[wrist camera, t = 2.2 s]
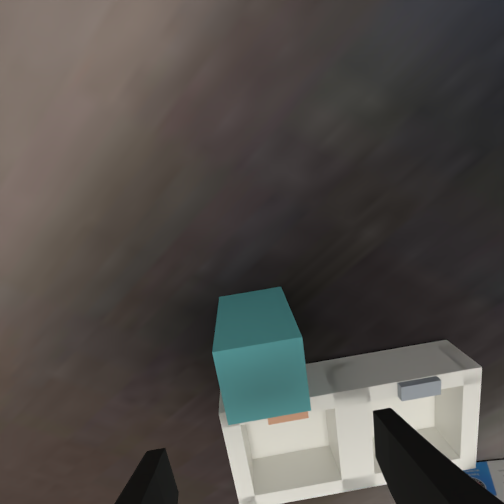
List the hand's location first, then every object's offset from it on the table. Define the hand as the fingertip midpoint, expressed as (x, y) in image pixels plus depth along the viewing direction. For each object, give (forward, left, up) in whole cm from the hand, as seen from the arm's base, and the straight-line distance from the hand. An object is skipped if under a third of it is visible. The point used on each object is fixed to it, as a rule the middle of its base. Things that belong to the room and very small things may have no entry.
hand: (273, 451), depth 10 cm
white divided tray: (-5, +8, -9) cm, 13 cm away
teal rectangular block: (0, 0, -9) cm, 9 cm away
